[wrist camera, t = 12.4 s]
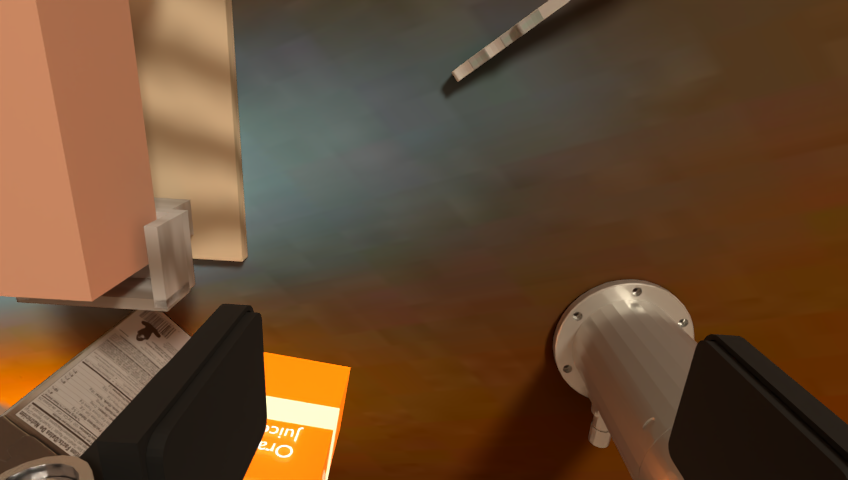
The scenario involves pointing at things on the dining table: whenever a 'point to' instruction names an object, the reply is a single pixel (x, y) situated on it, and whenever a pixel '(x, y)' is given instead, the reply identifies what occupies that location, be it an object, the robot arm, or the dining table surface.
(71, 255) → the rail
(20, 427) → the coffee box
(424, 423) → the dining table surface
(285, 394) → the orange juice
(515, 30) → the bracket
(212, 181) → the cradle stand
